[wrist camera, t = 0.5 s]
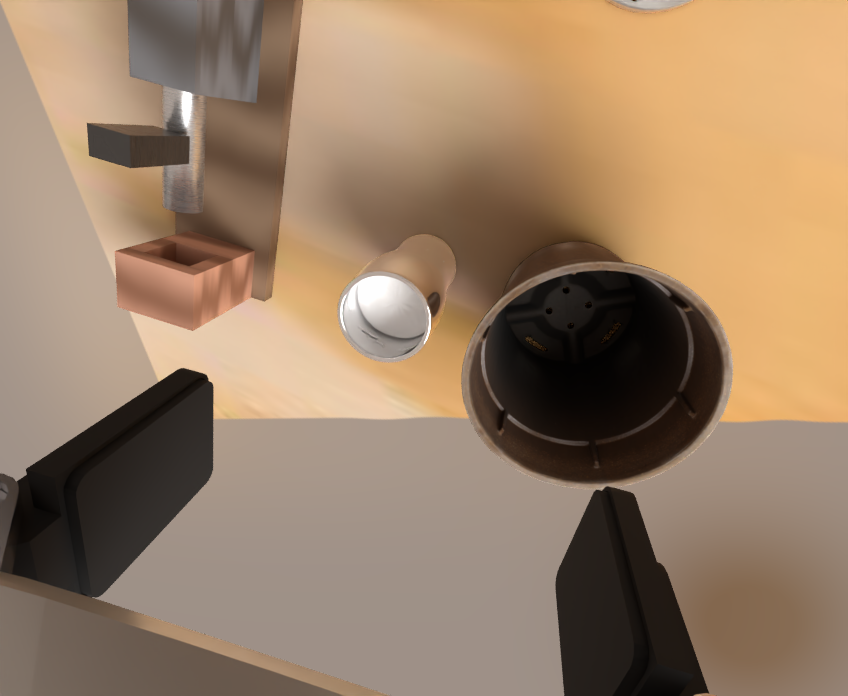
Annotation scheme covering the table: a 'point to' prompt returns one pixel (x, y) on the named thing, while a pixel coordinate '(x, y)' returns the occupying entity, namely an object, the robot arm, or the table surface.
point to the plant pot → (595, 370)
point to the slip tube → (162, 148)
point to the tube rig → (217, 152)
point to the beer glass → (397, 299)
